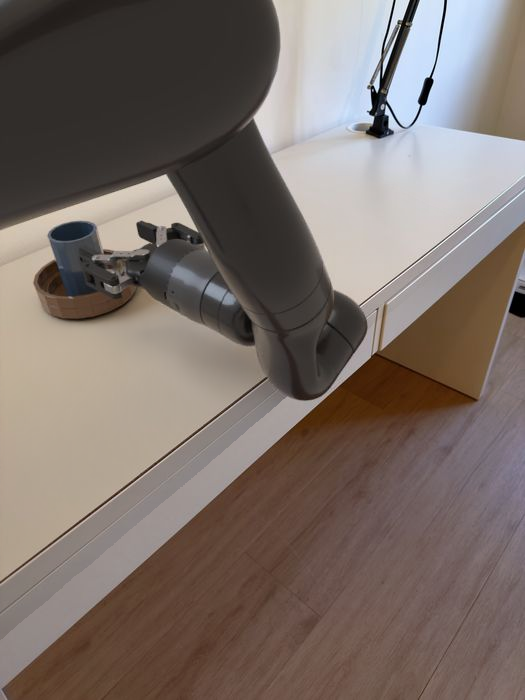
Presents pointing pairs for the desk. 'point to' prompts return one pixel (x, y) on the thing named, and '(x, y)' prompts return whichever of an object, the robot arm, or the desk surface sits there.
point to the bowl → (77, 306)
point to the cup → (74, 253)
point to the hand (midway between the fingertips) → (111, 240)
